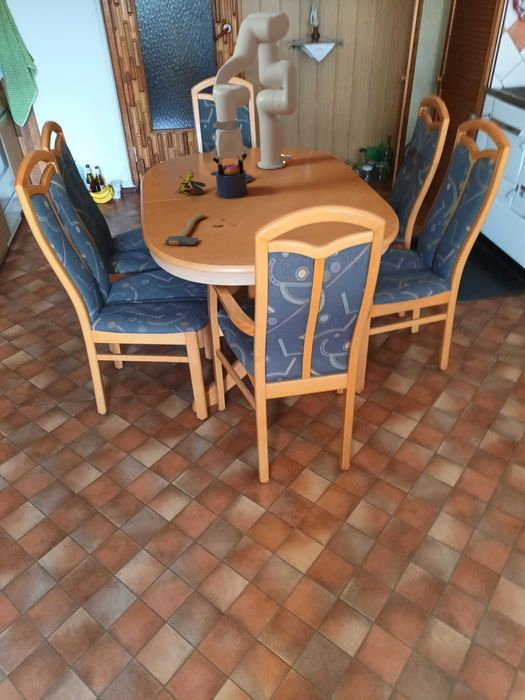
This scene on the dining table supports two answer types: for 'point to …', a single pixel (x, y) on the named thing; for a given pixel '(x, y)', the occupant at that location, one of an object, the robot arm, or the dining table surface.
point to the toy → (187, 188)
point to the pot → (231, 184)
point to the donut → (231, 170)
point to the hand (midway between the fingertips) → (231, 172)
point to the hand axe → (185, 233)
